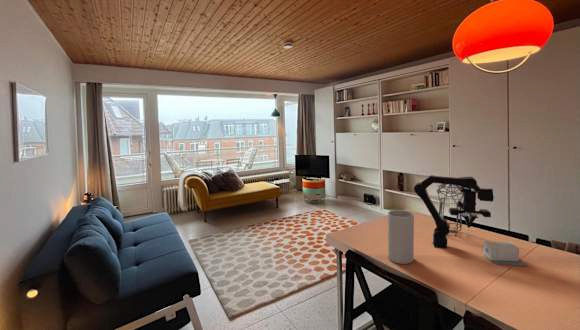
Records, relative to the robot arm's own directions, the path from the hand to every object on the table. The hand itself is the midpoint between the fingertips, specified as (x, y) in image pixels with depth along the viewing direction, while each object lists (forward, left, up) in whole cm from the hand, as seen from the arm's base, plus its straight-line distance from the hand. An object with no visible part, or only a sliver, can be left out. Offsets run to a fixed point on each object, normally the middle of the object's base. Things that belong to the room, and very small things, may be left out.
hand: (468, 227), depth 151 cm
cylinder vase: (-37, -19, -13) cm, 43 cm away
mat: (+14, -10, -13) cm, 21 cm away
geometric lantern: (-4, +24, -13) cm, 28 cm away
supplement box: (+6, -10, -9) cm, 14 cm away
